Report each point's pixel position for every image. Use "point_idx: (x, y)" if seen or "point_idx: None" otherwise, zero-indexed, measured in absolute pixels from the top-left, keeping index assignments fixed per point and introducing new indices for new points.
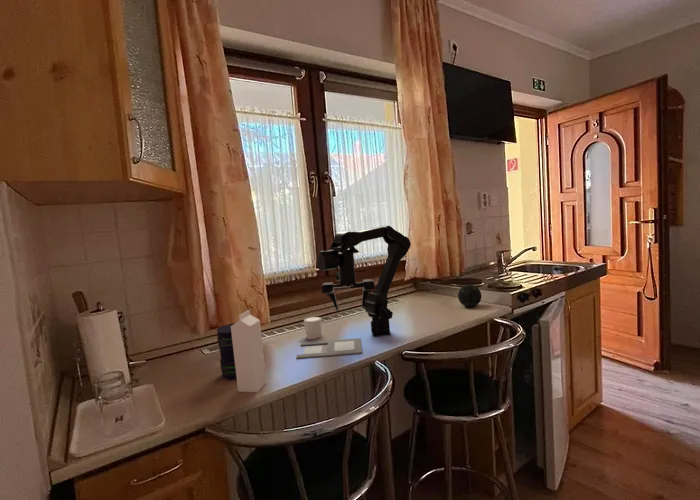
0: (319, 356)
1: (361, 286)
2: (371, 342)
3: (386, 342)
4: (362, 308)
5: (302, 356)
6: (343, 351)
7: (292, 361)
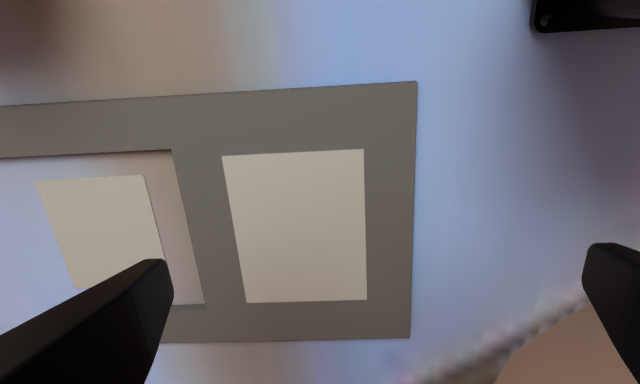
0: (180, 338)
1: None
2: (486, 165)
3: (590, 184)
4: (585, 288)
5: None
6: (303, 312)
7: None
